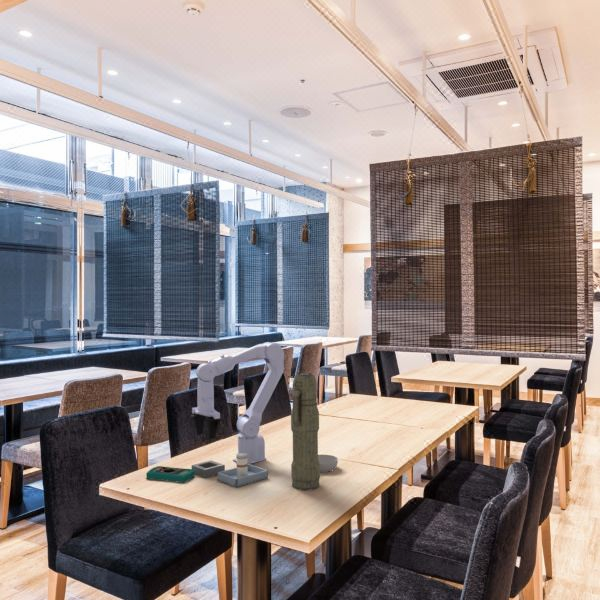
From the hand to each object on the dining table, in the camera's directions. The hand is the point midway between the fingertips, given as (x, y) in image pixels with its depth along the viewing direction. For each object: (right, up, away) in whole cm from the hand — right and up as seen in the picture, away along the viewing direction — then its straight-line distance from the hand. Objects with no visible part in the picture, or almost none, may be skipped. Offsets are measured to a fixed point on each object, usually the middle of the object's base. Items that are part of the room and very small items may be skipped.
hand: (205, 436), depth 193 cm
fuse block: (+2, -10, -8) cm, 13 cm away
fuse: (+15, -10, -15) cm, 23 cm away
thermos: (+35, -10, -22) cm, 43 cm away
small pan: (+38, -10, -2) cm, 40 cm away
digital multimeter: (-10, -11, -12) cm, 19 cm away
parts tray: (+15, -10, -15) cm, 24 cm away
